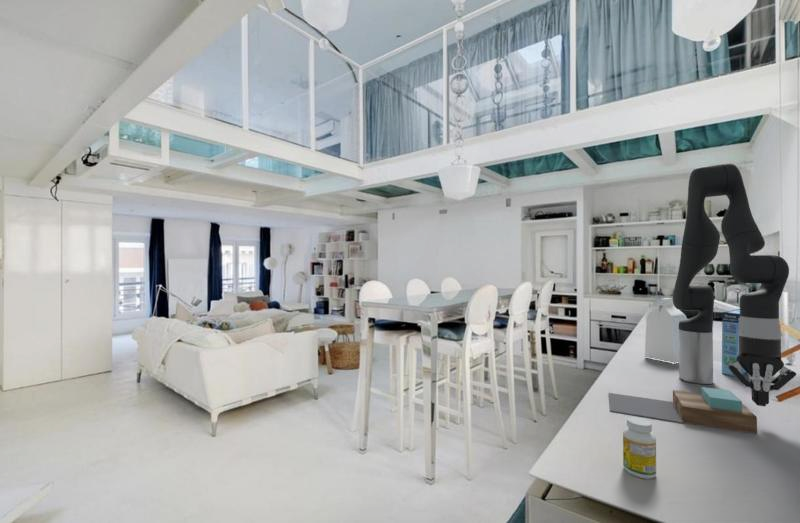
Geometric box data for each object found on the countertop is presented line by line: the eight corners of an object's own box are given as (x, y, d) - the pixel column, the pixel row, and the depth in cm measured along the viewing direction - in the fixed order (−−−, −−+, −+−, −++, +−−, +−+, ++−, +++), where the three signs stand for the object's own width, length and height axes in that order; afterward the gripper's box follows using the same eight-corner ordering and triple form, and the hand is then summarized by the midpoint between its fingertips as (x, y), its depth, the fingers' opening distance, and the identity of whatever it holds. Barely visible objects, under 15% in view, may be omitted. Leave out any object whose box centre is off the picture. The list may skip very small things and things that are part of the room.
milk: (674, 364, 148) (674, 300, 148) (644, 358, 158) (644, 298, 159) (690, 361, 154) (689, 299, 154) (660, 355, 164) (659, 297, 164)
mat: (608, 393, 114) (608, 392, 114) (672, 402, 106) (672, 401, 106) (610, 411, 100) (610, 410, 100) (683, 423, 92) (683, 422, 92)
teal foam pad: (701, 396, 100) (701, 387, 100) (730, 400, 98) (730, 390, 98) (710, 407, 92) (710, 397, 93) (741, 411, 90) (741, 401, 90)
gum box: (738, 366, 146) (737, 308, 147) (755, 369, 142) (755, 309, 142) (721, 373, 136) (720, 311, 136) (739, 377, 131) (738, 313, 132)
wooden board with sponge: (672, 404, 105) (672, 389, 105) (737, 413, 99) (736, 398, 99) (682, 422, 93) (682, 406, 93) (757, 434, 86) (756, 417, 87)
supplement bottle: (654, 483, 67) (654, 429, 67) (620, 472, 70) (620, 421, 70) (657, 470, 71) (657, 420, 71) (625, 461, 74) (625, 413, 74)
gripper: (788, 335, 92) (789, 404, 92) (720, 330, 98) (721, 395, 98) (803, 340, 85) (804, 415, 85) (729, 335, 92) (730, 405, 91)
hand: (760, 404), depth 91 cm, fingers closed
